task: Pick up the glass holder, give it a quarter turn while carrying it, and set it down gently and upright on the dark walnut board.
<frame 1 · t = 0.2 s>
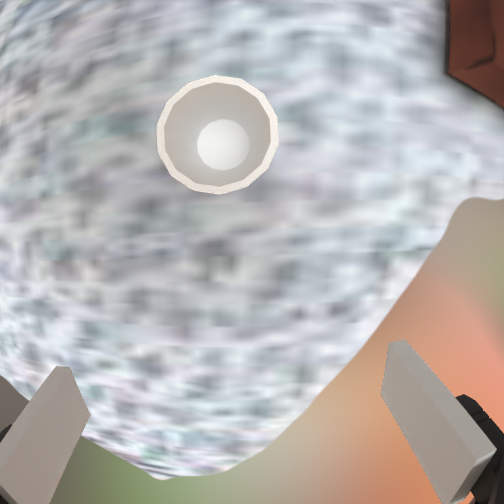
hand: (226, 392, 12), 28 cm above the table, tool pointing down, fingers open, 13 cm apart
foam cup: (223, 145, 36), on the table
potted plant: (480, 56, 33), on the table
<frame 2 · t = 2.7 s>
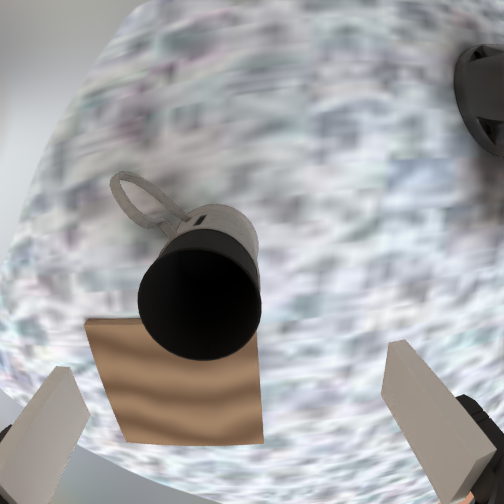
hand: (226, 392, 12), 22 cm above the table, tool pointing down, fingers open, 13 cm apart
walnut board: (180, 387, 38), on the table
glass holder: (199, 225, 33), on the table
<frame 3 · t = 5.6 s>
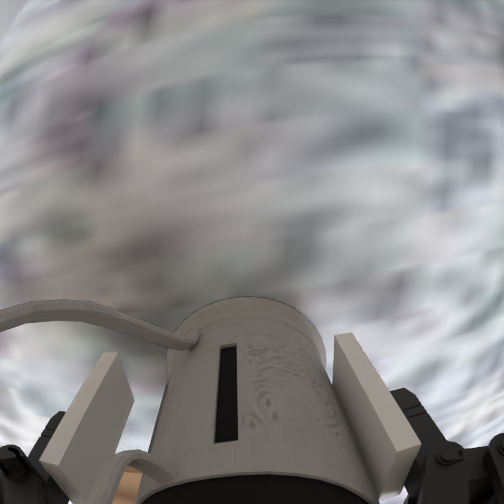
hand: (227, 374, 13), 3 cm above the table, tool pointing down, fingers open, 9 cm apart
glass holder: (214, 334, 16), on the table, touching gripper
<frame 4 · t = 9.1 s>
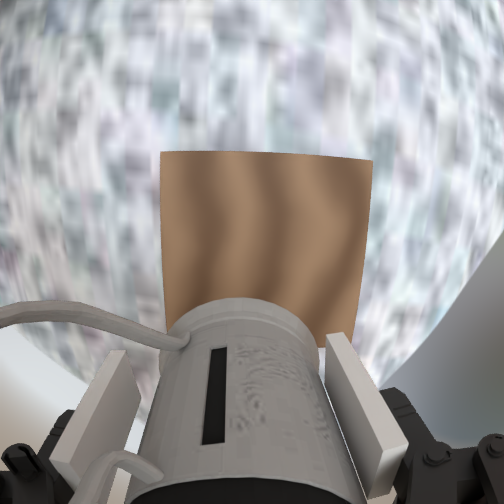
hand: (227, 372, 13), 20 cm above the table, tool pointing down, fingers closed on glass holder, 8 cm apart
walnut board: (264, 254, 33), on the table
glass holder: (206, 335, 16), point 17 cm above the table, touching gripper
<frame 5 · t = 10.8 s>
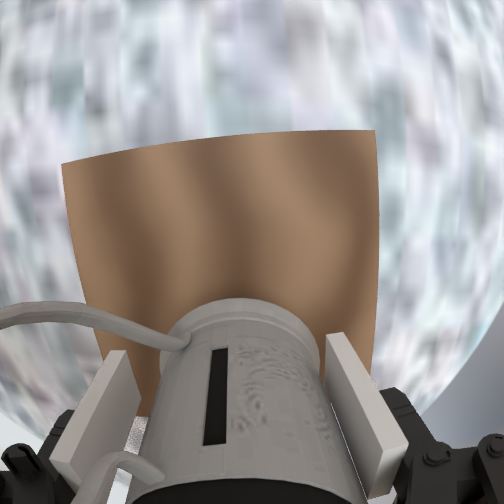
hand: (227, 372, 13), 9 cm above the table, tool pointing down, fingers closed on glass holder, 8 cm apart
walnut board: (229, 290, 22), on the table
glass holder: (207, 335, 16), point 6 cm above the table, touching gripper
when the fingers open (6 cm above the table, at t = 12.2 s): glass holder drops 2 cm, resting on walnut board.
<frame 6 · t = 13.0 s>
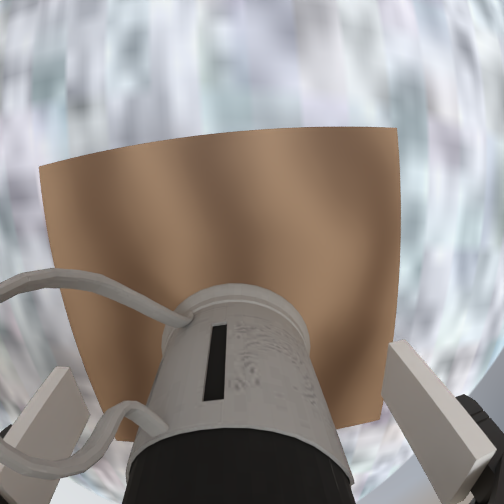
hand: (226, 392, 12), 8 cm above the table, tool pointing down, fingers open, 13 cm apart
walnut board: (229, 310, 19), on the table
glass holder: (207, 317, 18), point 1 cm above the table, touching walnut board
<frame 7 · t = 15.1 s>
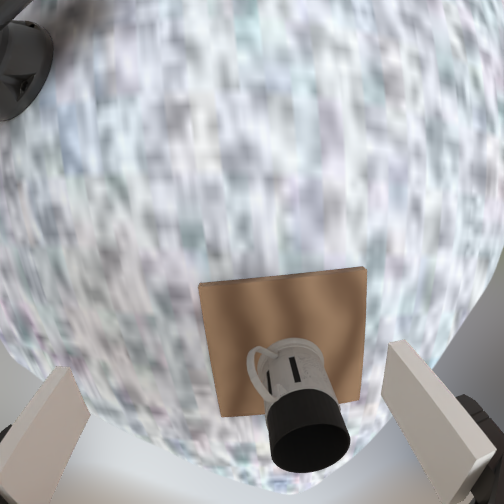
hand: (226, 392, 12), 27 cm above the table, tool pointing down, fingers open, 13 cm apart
walnut board: (287, 347, 41), on the table
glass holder: (279, 352, 40), point 1 cm above the table, touching walnut board
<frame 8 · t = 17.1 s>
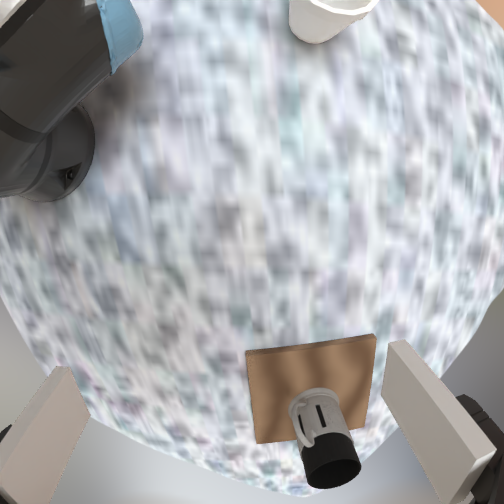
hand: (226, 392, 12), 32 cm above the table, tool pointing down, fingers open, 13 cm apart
walnut board: (311, 392, 50), on the table
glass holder: (305, 397, 48), point 1 cm above the table, touching walnut board
foam cup: (311, 25, 36), on the table
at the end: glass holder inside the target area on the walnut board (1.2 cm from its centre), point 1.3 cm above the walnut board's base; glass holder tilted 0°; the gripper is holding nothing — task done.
